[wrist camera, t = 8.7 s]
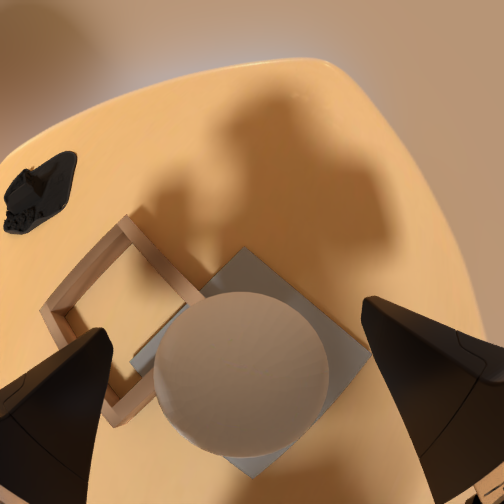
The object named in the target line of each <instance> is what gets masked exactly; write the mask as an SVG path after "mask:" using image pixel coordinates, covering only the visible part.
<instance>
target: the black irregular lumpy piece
mask: <svg viewBox="0 0 504 504" xmlns="http://www.w3.org/2000/svg"><path fill="white" fill-rule="evenodd" d="M76 163H77V156H76V155H75V153H73V152H70V151H65V152H62V153H59V154H58V155H56V156H54V157H53V158H51V159H50V160H48V161H46V162H45V163H43V164H42V165H41V166H39V167H38V168H36V169H34V170H33V171H30V170H29V169H24V170H23V171H22V172H21V173H20V174H19V175H18V176H17V177H16V178H15V179H14V180H13V182H12V183H11V185H10V186H9V188H8V189H7V191H6V193H5V195H4V201H5V203H6V205H7V210H8V211H6V216H7V219H6V220H4V221H5V222H4V225H3V227H4V231H5V232H8V233H10V234H21V235H22V234H26V233H28V232H30V231H31V230H33V229H34V228H36V227H37V226H39V225H40V224H42V223H43V222H45V221H47V220H48V219H50V218H51V217H53V216H55V215H56V214H58V213H59V212H60V211H62V210H63V209H64V207H65V206H66V204H67V203H68V200H69V196H70V191H71V186H72V181H73V175H74V171H75V167H76ZM64 204H65V205H64ZM63 205H64V207H63ZM62 207H63V208H62Z"/></svg>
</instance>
